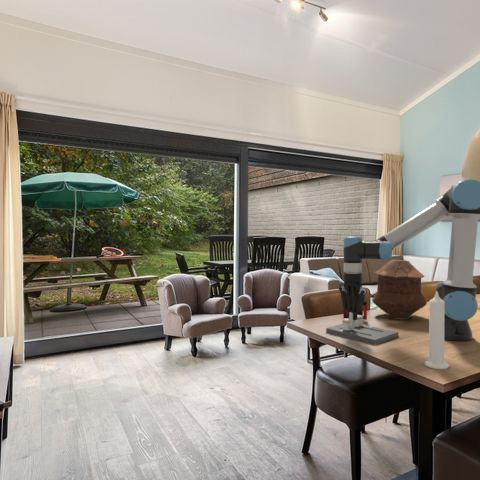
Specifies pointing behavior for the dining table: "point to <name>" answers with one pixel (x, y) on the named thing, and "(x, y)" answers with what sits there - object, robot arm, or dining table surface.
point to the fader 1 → (346, 325)
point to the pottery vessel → (399, 289)
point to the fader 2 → (359, 321)
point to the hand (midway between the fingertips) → (352, 327)
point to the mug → (345, 312)
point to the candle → (436, 333)
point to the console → (364, 333)
